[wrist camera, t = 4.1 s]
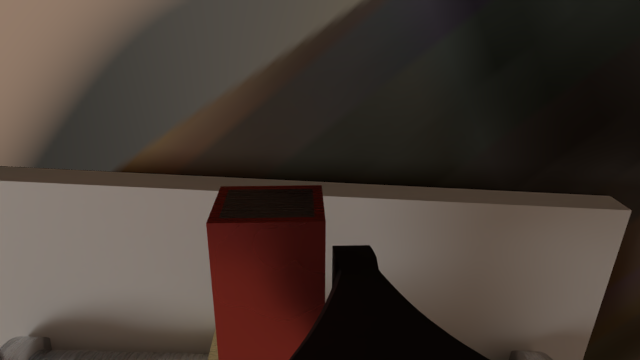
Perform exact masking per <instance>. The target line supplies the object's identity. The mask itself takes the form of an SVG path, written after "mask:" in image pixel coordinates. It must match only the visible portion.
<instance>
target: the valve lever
mask: <svg viewBox="0 0 640 360" xmlns="http://www.w3.org/2000/svg"><path fill="white" fill-rule="evenodd" d="M206 228H207V239H208V250H209V261H210V272H211V283H212V294H213V305H214V316H215V327H216V338H217V349H218V360H289V359H290V358H291V356H292V355H293V354H294V353H295V351H296V350H297V349H298V347H299V346H300V344H301V343H302V342H303V340H304V339H305V338H306V336H307V334H308V333H309V331H310V330H311V328H312V327H313V325H314V323H315V322H316V320H317V318H318V316H319V315H320V313H321V311H322V309H323V306H324V304H325V252H326V220H325V211H324V202H323V193H322V185H294V186H221V187H220V189H219V192H218V194H217V197H216V199H215V202H214V205H213V207H212V210H211V212H210V215H209V217H208V220H207V222H206Z"/></svg>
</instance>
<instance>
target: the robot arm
mask: <svg viewBox="0 0 640 360" xmlns="http://www.w3.org/2000/svg"><path fill="white" fill-rule="evenodd" d="M289 360H490V359H488V358H486V357H485V356H483V355H481V354H480V353H478V352H476V351H475V350H473V349H471V348H470V347H468V346H466V345H465V344H463V343H462V342H460V341H459V340H457V339H456V338H454V337H453V336H451V335H450V334H448V333H447V332H446V331H444V330H443V329H442V328H440V327H439V326H438V325H436V324H435V323H434V322H432V321H431V320H430V319H428V318H427V317H426V316H425V315H424V314H422V313H421V312H420V311H419V310H418V309H417V308H415V307H414V306H413V305H412V304H411V303H410V302H409V301H408V300H407V299H406V298H405V297H404V296H403V295H402V294H401V293H400V292H399V291H398V290H397V289H396V288H395V287H394V286H393V285H392V284H391V283H390V282H389V281H388V280H387V279H386V277H385V276H384V275H383V274H382V273H381V272H380V271H379V269H378V263H377V257H376V255H375V253H374V251H373V249H372V248H371V246H370V245H347V246H332V289H331V291H330V294H329V296H328V298H327V300H326V302H325V304H324V306H323V309H322V311H321V313H320V315H319V316H318V318H317V320H316V322H315V323H314V325H313V327H312V328H311V330H310V331H309V333H308V334H307V336H306V338H305V339H304V340H303V342H302V343H301V344H300V346H299V347H298V349H297V350H296V351H295V353H294V354H293V355H292V356H291V358H290V359H289Z"/></svg>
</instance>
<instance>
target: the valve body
mask: <svg viewBox="0 0 640 360" xmlns="http://www.w3.org/2000/svg"><path fill="white" fill-rule="evenodd" d="M0 360H218V349H217V338H216V328H215V332H214V336H213V340H212V344H211V348H210V352H209V354H193V353H156V352H119V351H83V350H52V347H51V341H50V338H48V337H31V336H18V337H14V338H12V339H10V340H8V341H7V342H6V343H5V344H3V345H2V346H1V347H0ZM509 360H552V359H551V358H550V357H549V356H548V355H547V354H545V353H543V352H541V351H521V350H514V351H511V354H510V358H509Z"/></svg>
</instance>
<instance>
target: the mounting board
mask: <svg viewBox="0 0 640 360" xmlns="http://www.w3.org/2000/svg"><path fill="white" fill-rule="evenodd" d="M294 185H322V193H323V202H324V211H325V220H326V252H325V302H326V300H327V298H328V296H329V294H330V291H331V289H332V246H347V245H370V246H371V248H372V249H373V251H374V253H375V255H376V257H377V263H378V269H379V271H380V272H381V273H382V274H383V275H384V276H385V277H386V279H387V280H388V281H389V282H390V283H391V284H392V285H393V286H394V287H395V288H396V289H397V290H398V291H399V292H400V293H401V294H402V295H403V296H404V297H405V298H406V299H407V300H408V301H409V302H410V303H411V304H412V305H413V306H414V307H415V308H417V309H418V310H419V311H420V312H421V313H422V314H424V315H425V316H426V317H427V318H428V319H430V320H431V321H432V322H434V323H435V324H436V325H438V326H439V327H440V328H442V329H443V330H444V331H446V332H447V333H448V334H450V335H451V336H453V337H454V338H456V339H457V340H459V341H460V342H462V343H463V344H465V345H466V346H468V347H470V348H471V349H473V350H475V351H476V352H478V353H480V354H481V355H483V356H485V357H486V358H488V359H490V360H509V358H510V354H511V351H514V350H521V351H541V352H543V353H545V354H547V355H548V356H549V357H550V358H551V359H552V360H583V357H584V354H585V351H586V348H587V345H588V342H589V339H590V336H591V333H592V330H593V327H594V324H595V321H596V318H597V315H598V312H599V309H600V306H601V303H602V300H603V296H604V293H605V290H606V287H607V284H608V281H609V278H610V275H611V272H612V269H613V266H614V263H615V260H616V257H617V254H618V251H619V248H620V245H621V242H622V239H623V236H624V233H625V229H626V226H627V223H628V220H629V217H630V214H631V211H632V210H630V209H629V208H627V207H626V206H624V205H623V204H621V203H620V202H618V201H617V200H615V199H614V198H612V197H611V196H600V195H580V194H559V193H539V192H518V191H498V190H477V189H457V188H436V187H416V186H395V185H375V184H354V183H334V182H313V181H293V180H272V179H252V178H231V177H211V176H190V175H170V174H149V173H129V172H109V171H88V170H87V171H86V170H67V169H47V168H25V167H6V166H0V347H1V346H2V345H3V344H5V343H6V342H7V341H8V340H10V339H12V338H14V337H18V336H31V337H48V338H50V341H51V347H52V350H83V351H119V352H156V353H193V354H209V352H210V348H211V344H212V340H213V336H214V332H215V328H216V327H215V316H214V305H213V294H212V283H211V272H210V261H209V250H208V239H207V228H206V222H207V220H208V217H209V215H210V212H211V210H212V207H213V205H214V202H215V199H216V197H217V194H218V192H219V189H220V187H221V186H294Z"/></svg>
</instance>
